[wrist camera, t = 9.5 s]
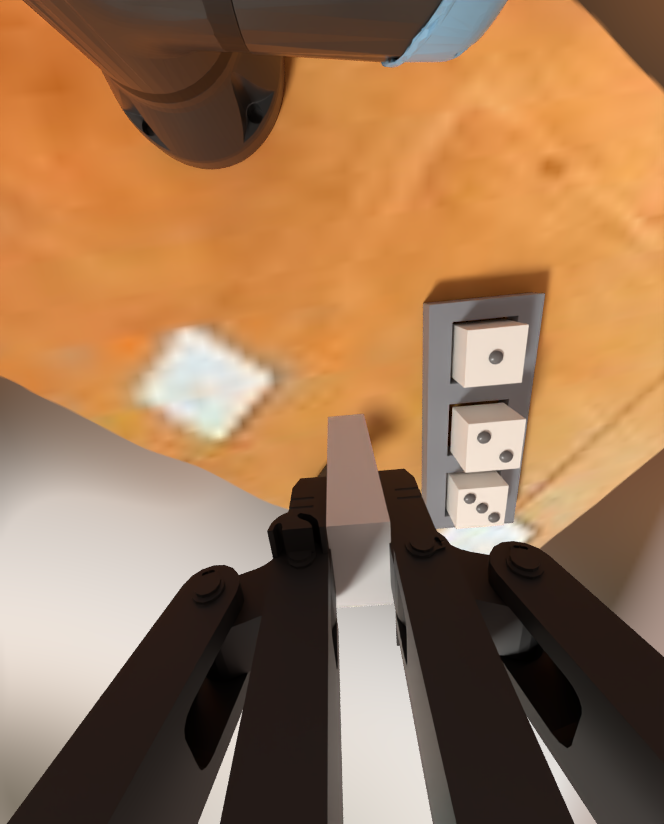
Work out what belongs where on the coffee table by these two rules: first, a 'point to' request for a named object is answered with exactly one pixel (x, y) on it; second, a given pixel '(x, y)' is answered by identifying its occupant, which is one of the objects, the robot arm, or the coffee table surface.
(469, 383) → the white die
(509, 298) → the board
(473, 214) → the coffee table surface
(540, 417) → the coffee table surface
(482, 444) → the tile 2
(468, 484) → the white die
